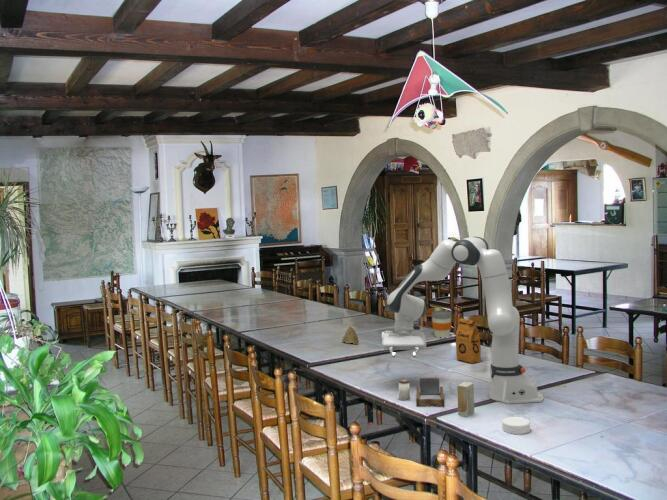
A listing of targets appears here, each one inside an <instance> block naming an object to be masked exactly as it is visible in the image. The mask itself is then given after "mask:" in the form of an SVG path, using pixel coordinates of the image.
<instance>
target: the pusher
mask: <svg viewBox="0 0 667 500" xmlns="http://www.w3.org/2000/svg"><path fill="white" fill-rule="evenodd" d="M419 391H420V395H440V377H419Z"/></svg>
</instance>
